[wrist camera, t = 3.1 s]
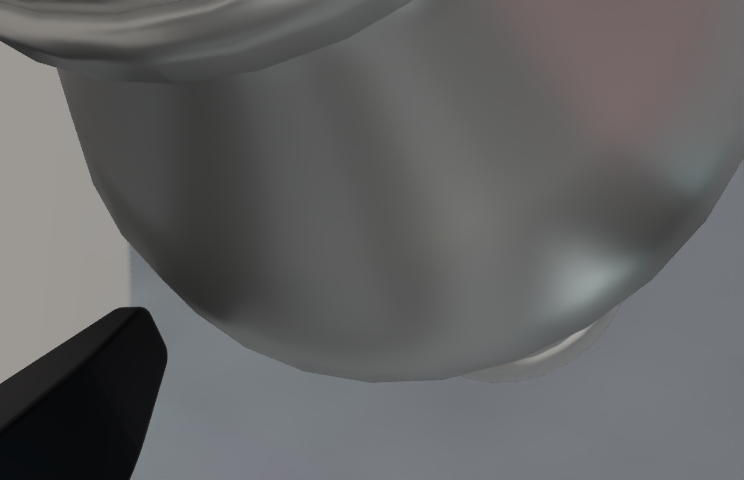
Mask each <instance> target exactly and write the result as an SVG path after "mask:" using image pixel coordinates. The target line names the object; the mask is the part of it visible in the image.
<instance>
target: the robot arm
mask: <svg viewBox="0 0 744 480" xmlns="http://www.w3.org/2000/svg"><path fill="white" fill-rule="evenodd" d="M166 364H167V349H166V345H165V343H164V341H163V339H162V337H161V335H160V333H159V331H158V328H157V326H156V324H155V322H154V320H153V318H152V316H151V314H150V312H149V311H148V310H147V309H145V308H143V307H121V308H118V309H115V310H113V311H112V312H110V313H109V314H107V315H106V316H104V317H103V318H101V319H99V320H98V321H97V322H95V323H93V324H92V325H90V326H89V327H87V328H86V329H84V330H83V331H81V332H79V333H78V334H76V335H75V336H73V337H72V338H70V339H69V340H67V341H66V342H64V343H63V344H61V345H59V346H58V347H56V348H55V349H53V350H52V351H50V352H49V353H47V354H46V355H44V356H42V357H41V358H39V359H38V360H36V361H35V362H33V363H32V364H30V365H29V366H27V367H26V368H24V369H22V370H21V371H19V372H18V373H16V374H15V375H13V376H12V377H10V378H9V379H7V380H5V381H4V382H2V383H1V384H0V480H130V478H131V476H132V473H133V471H134V468H135V466H136V463H137V460H138V458H139V455H140V452H141V449H142V446H143V443H144V440H145V436H146V433H147V430H148V426H149V423H150V419H151V416H152V412H153V409H154V406H155V402H156V399H157V395H158V392H159V388H160V385H161V382H162V378H163V375H164V371H165V368H166Z"/></svg>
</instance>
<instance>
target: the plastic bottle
mask: <svg viewBox="0 0 744 480" xmlns="http://www.w3.org/2000/svg"><path fill="white" fill-rule="evenodd" d="M0 41H2V42H3V43H5V44H7V45H9V46H10V47H12V48H14V49H15V50H17V51H19V52H21V53H23V54H24V55H26V56H28V57H29V58H31V59H33V60H35V61H37V62H40V63H43V64H47V65H50V66H53V67H57V70H58V74H59V77H60V80H61V84H62V87H63V90H64V93H65V97H66V100H67V103H68V106H69V110H70V113H71V116H72V119H73V122H74V125H75V129H76V132H77V135H78V138H79V141H80V144H81V147H82V150H83V153H84V157H85V160H86V163H87V166H88V169H89V172H90V175H91V179H92V182H93V184H94V186H95V188H96V190H97V191H98V193H99V195H100V197H101V199H102V200H103V202H104V204H105V206H106V207H107V209H108V211H109V213H110V214H111V216H112V218H113V220H114V222H115V224H116V225H117V227H118V229H119V230H120V232H121V234H122V235H123V236H124V238H125V239H126V240H127V241H128V242H129V243H130V244H131V245H132V246H133V248H134V249H135V250H136V251H137V252H138V253H139V254H140V255H141V256H142V258H143V259H144V260H145V261H146V262H147V263H148V264H149V265H150V266H151V267H152V269H153V270H154V271H155V272H156V273H157V274H158V275H159V276H160V277H161V278H162V280H163V281H164V282H166V283H167V284H168V285H169V286H170V287H171V288H172V289H173V290H174V291H175V292H176V293H177V294H178V295H179V296H180V297H181V298H182V299H183V300H184V301H185V302H186V303H187V304H188V305H189V306H190V307H191V308H192V309H193V310H194V311H195V312H196V313H197V314H198V315H200V316H201V317H203V318H204V319H206V320H207V321H208V322H210V323H211V324H213V325H214V326H216V327H217V328H218V329H220V330H221V331H223V332H224V333H226V334H227V335H228V336H230V337H231V338H233V339H234V340H236V341H237V342H238V343H240V344H241V345H243V346H244V347H246V348H248V349H251V350H253V351H256V352H258V353H260V354H263V355H265V356H268V357H270V358H273V359H275V360H278V361H280V362H283V363H285V364H287V365H290V366H292V367H295V368H297V369H300V370H302V371H305V372H311V373H317V374H323V375H329V376H335V377H340V378H346V379H352V380H358V381H364V382H370V383H375V382H399V381H423V380H443V379H447V378H451V377H455V376H461V377H464V378H467V379H473V380H479V381H485V382H491V383H494V382H518V381H522V380H526V379H530V378H534V377H538V376H542V375H545V374H547V373H549V372H551V371H553V370H556V369H558V368H560V367H562V366H564V365H566V364H568V363H569V362H571V361H572V360H573V359H575V358H576V357H578V356H579V355H580V354H582V353H583V352H584V351H586V350H587V349H588V348H589V347H590V346H591V345H592V344H593V343H594V342H595V341H596V340H597V339H598V338H599V337H600V335H601V334H602V333H603V332H604V331H605V330H606V329H607V327H608V326H609V324H610V322H611V321H612V319H613V317H614V316H615V314H616V312H617V311H618V309H619V307H620V306H621V303H622V301H624V300H625V299H627V298H628V297H629V296H631V295H632V294H633V293H635V292H636V291H637V290H639V289H640V288H641V287H643V286H644V285H646V284H647V283H648V282H650V281H651V280H652V279H653V278H654V277H655V276H656V275H657V274H658V272H659V271H660V270H661V269H662V268H663V267H664V266H665V265H666V264H667V263H668V262H669V260H670V259H671V258H672V257H673V256H674V255H675V254H676V253H677V252H678V251H679V249H680V248H681V247H682V246H683V245H684V244H685V243H686V242H687V241H688V240H689V239H690V237H691V236H692V235H693V234H694V233H695V232H696V231H697V230H698V229H699V228H700V226H701V225H702V224H703V223H704V222H705V221H706V220H707V218H708V216H709V215H710V213H711V211H712V210H713V208H714V206H715V205H716V203H717V201H718V200H719V198H720V196H721V195H722V193H723V191H724V190H725V188H726V186H727V185H728V183H729V181H730V180H731V178H732V176H733V175H734V173H735V171H736V170H737V168H738V166H739V165H740V163H741V161H742V160H743V158H744V0H0Z"/></svg>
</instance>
